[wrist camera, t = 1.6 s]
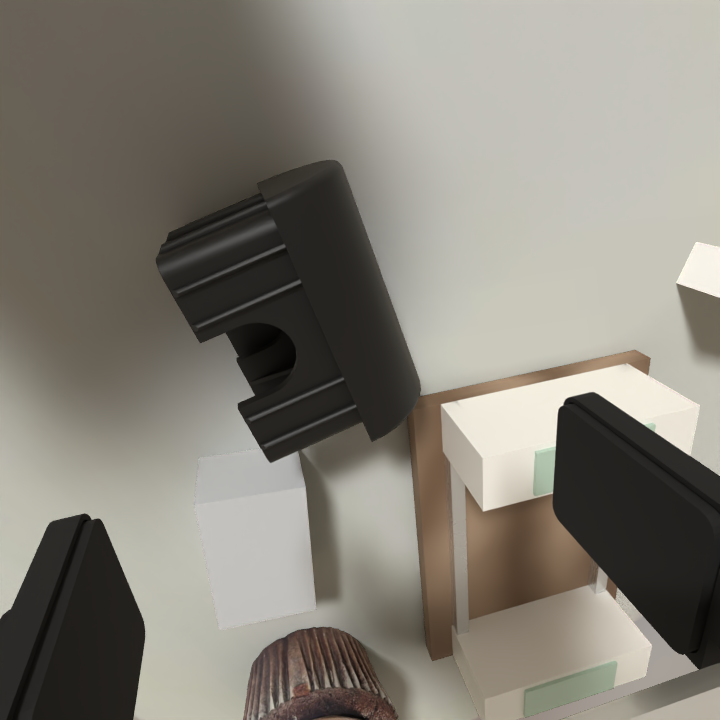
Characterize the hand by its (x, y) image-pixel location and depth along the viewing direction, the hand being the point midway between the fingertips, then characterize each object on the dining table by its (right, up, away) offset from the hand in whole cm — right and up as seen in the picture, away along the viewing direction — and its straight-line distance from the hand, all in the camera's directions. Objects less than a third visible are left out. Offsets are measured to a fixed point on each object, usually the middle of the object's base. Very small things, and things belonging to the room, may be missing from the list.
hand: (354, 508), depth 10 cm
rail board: (+10, -7, +23) cm, 26 cm away
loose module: (-6, -5, +18) cm, 20 cm away
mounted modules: (+11, -7, +22) cm, 25 cm away
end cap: (-3, +6, +14) cm, 16 cm away
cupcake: (-3, -18, +24) cm, 30 cm away
